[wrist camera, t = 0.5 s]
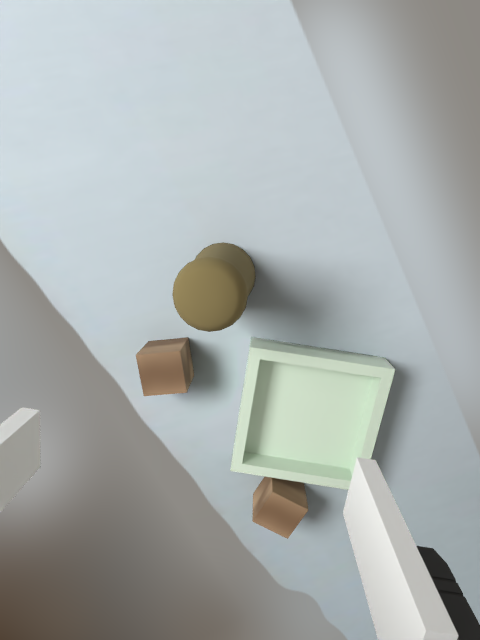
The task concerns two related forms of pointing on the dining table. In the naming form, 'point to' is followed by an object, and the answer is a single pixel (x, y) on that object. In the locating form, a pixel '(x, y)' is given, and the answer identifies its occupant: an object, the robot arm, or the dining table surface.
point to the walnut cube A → (165, 366)
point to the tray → (309, 412)
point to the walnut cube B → (279, 505)
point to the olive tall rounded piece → (214, 287)
